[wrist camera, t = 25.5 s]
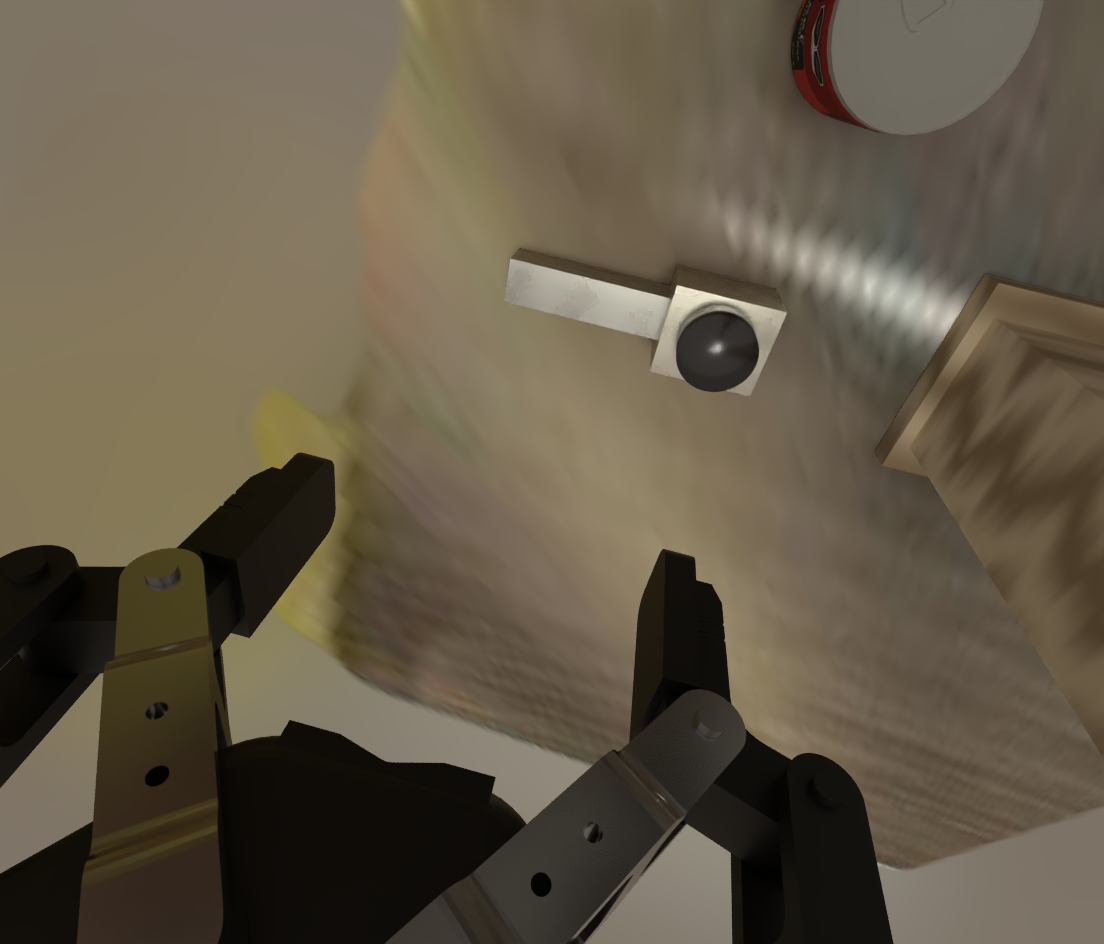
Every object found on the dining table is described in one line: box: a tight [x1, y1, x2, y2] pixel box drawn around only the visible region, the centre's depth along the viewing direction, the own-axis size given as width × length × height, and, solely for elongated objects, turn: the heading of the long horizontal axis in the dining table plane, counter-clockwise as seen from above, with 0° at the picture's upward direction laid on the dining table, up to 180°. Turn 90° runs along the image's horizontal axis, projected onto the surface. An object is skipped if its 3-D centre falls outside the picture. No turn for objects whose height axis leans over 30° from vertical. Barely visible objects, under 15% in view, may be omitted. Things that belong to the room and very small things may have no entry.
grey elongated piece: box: [504, 248, 787, 397], centre depth 40 cm, size 6×18×7 cm, turn 79°
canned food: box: [791, 0, 1044, 136], centre depth 28 cm, size 8×8×11 cm
